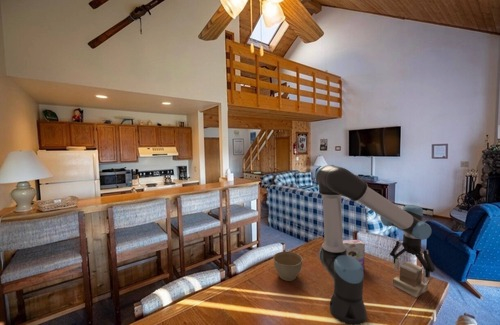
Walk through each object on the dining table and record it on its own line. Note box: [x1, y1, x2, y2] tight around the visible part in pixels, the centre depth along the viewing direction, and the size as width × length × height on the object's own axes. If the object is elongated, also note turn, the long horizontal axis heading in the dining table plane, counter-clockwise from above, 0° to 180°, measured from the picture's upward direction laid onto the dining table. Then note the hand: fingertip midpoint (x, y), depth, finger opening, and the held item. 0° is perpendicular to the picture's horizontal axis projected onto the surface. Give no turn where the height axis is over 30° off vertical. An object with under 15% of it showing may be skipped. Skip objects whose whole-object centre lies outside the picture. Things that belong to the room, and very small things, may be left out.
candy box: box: [343, 239, 366, 271], centre depth 135 cm, size 14×6×16 cm, turn 84°
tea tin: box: [399, 261, 424, 287], centre depth 115 cm, size 7×7×8 cm
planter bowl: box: [273, 251, 303, 282], centre depth 127 cm, size 16×16×11 cm
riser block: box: [392, 274, 429, 298], centre depth 116 cm, size 11×11×4 cm
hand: (410, 276), depth 116 cm, fingers open, 12 cm apart
